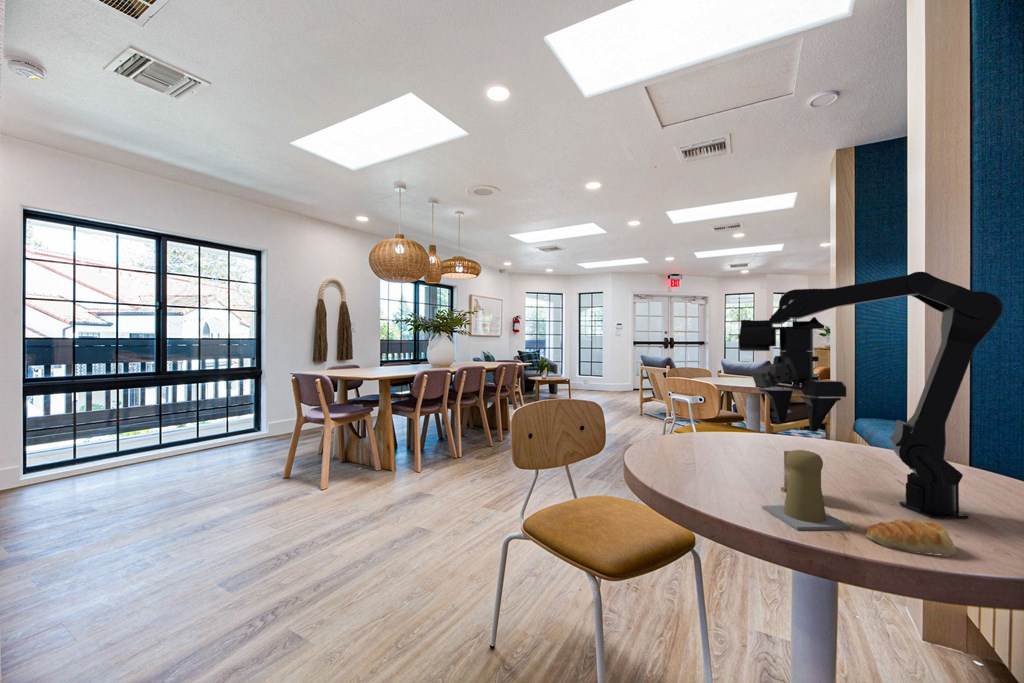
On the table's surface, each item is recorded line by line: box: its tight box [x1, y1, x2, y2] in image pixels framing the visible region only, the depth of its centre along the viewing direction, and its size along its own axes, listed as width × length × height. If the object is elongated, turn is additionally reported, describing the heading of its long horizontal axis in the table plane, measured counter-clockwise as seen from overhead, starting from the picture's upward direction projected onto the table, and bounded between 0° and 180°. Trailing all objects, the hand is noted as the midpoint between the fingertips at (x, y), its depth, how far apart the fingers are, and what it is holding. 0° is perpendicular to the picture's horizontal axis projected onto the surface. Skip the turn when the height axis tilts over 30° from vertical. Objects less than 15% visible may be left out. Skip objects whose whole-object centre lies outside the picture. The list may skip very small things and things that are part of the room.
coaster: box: [761, 504, 853, 531], centre depth 72 cm, size 9×9×1 cm
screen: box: [780, 450, 826, 505], centre depth 82 cm, size 3×8×8 cm, turn 2°
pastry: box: [866, 518, 956, 556], centre depth 63 cm, size 9×7×4 cm
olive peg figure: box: [783, 449, 826, 523], centre depth 72 cm, size 6×6×11 cm
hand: (796, 426), depth 86 cm, fingers open, 9 cm apart
